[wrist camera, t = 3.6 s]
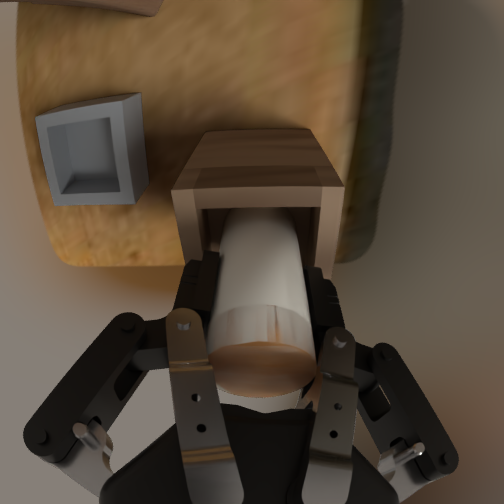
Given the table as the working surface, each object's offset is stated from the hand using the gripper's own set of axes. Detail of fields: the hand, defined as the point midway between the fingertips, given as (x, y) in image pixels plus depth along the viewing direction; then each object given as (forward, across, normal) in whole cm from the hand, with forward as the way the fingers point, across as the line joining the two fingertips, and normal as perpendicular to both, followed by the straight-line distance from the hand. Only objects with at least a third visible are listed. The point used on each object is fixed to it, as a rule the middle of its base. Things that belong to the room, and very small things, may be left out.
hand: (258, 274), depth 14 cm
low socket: (+11, +13, -1) cm, 17 cm away
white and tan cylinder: (+4, 0, 0) cm, 4 cm away
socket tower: (+11, 0, 0) cm, 11 cm away
